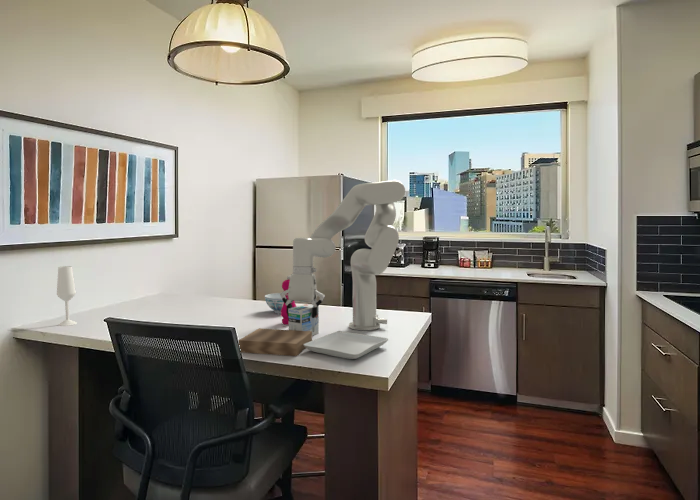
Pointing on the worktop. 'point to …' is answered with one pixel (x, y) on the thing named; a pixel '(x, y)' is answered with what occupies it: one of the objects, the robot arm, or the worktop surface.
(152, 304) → the worktop surface
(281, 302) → the chinaware
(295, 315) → the light bulb box
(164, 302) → the worktop surface
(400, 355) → the worktop surface
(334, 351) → the salad plate
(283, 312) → the pepper mill
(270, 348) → the riser block
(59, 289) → the champagne flute
